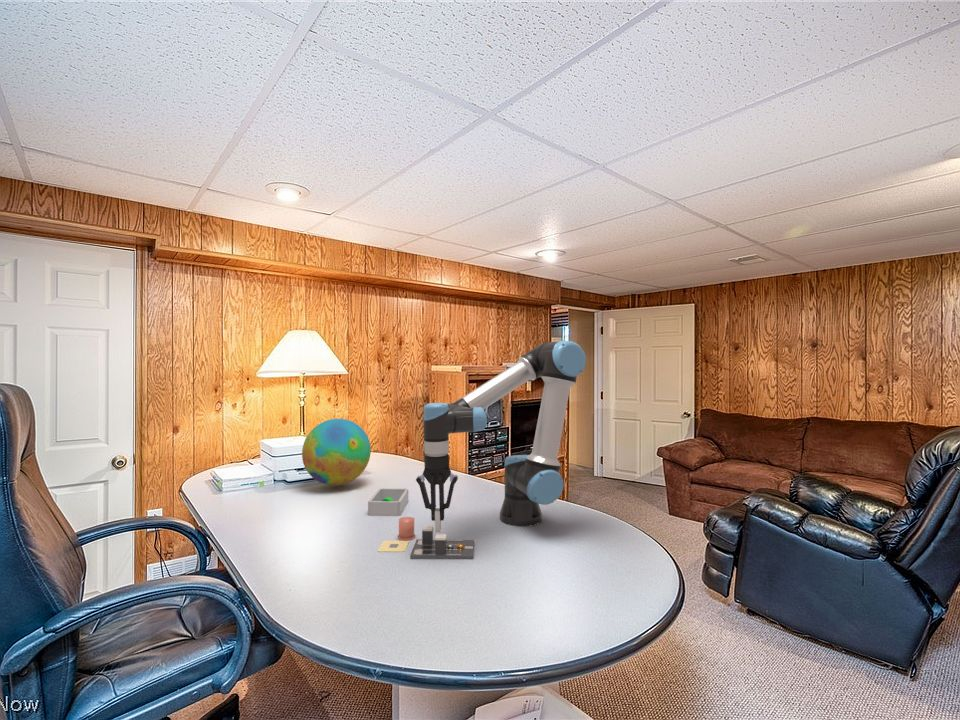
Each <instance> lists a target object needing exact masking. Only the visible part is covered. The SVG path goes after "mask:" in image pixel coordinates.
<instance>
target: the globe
mask: <svg viewBox="0 0 960 720" xmlns="http://www.w3.org/2000/svg"><path fill="white" fill-rule="evenodd" d="M371 447H372V446H371V443H370V439H369V437H368V435H367V433H366V432H365V430H364V429H363V428H362V427H361V426H360V425H358V424H357V423H355V422H354V421H352V420H349V419H345V418H332V419H328V420H324V421H323V422H320V423H319V424H318V425H316V426H315V427H313V428H312V429H311V430H310V432H309V433H308V435H306V437H305V439H304V441H303V445H302V448H301V449H302V450H301V451H302V452H301V457H302V463H303V467H304V468H305V470H306V471H307V474H309V476H311V478H313V480H315V481H317V482H319V483H321V484H322V485H327V486H333V487H334V486H342V485H346V484H349V483H351V482H352V481H353V482H354V480H356V479H357V478H358V477H360V476H361V474H363V472H364V471H365V469H366V468H367V467H368V464H369V462H370V459H371V452H372V451H371V449H372V448H371Z"/></svg>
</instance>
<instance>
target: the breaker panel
mask: <svg viewBox="0 0 960 720" xmlns="http://www.w3.org/2000/svg"><path fill="white" fill-rule="evenodd" d="M474 552H475V539H446V554H435V539H433V543H432V544H422V538H421V539H420V538H419V539H416V540H415V543H414V545H413V548H412V550H411V553H410V555H409V559H410V560H474V555H475V554H474Z"/></svg>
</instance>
